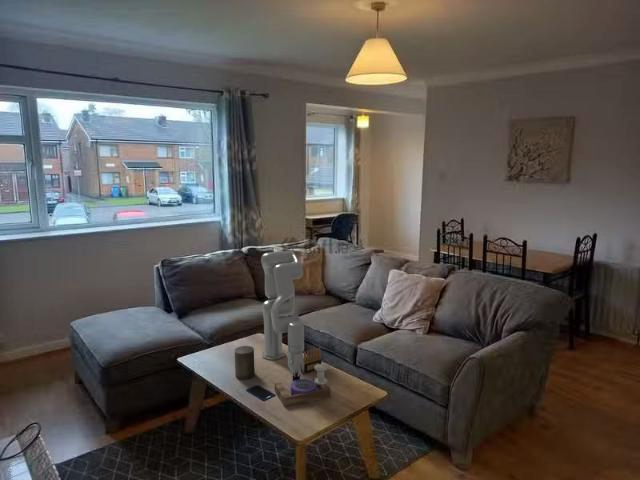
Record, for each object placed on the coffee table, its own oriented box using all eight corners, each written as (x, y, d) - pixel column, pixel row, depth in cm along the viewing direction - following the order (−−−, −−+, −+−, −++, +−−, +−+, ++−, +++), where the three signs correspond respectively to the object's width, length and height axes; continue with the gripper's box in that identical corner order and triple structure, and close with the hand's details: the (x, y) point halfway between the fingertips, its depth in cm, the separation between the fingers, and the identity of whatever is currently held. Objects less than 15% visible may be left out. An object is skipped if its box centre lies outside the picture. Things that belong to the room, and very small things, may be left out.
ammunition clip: (304, 374, 233) (304, 351, 231) (302, 372, 235) (302, 350, 233) (321, 368, 239) (321, 346, 237) (319, 367, 241) (319, 345, 239)
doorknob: (312, 380, 218) (312, 365, 217) (324, 378, 221) (324, 363, 219) (317, 386, 213) (317, 370, 212) (329, 383, 215) (329, 368, 214)
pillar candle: (258, 375, 232) (257, 346, 229) (242, 381, 225) (241, 352, 222) (247, 369, 239) (246, 341, 236) (231, 375, 232) (230, 346, 229)
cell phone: (263, 402, 207) (263, 400, 207) (245, 391, 217) (245, 389, 217) (276, 396, 212) (276, 394, 212) (257, 385, 222) (257, 384, 222)
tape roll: (315, 387, 220) (315, 377, 219) (317, 400, 208) (317, 390, 208) (290, 389, 219) (289, 379, 218) (291, 402, 207) (291, 391, 206)
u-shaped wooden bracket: (274, 391, 216) (274, 383, 215) (318, 383, 224) (318, 375, 223) (284, 406, 203) (284, 398, 202) (330, 397, 211) (330, 389, 210)
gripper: (283, 342, 223) (283, 378, 226) (293, 354, 209) (294, 392, 212) (298, 340, 225) (298, 375, 229) (309, 352, 212) (309, 389, 215)
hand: (296, 383), depth 221 cm, fingers closed
